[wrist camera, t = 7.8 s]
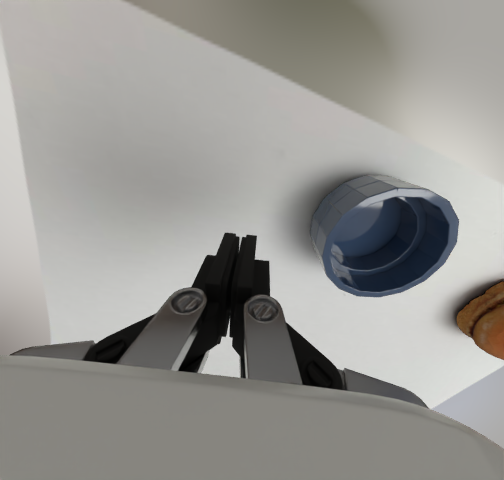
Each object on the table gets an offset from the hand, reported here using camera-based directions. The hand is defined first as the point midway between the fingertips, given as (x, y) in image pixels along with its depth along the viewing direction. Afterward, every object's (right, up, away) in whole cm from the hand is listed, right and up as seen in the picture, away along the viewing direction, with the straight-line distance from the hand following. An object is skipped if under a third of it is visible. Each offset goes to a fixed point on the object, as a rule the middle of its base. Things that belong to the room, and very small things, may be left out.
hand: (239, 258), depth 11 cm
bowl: (+11, +2, +8) cm, 14 cm away
